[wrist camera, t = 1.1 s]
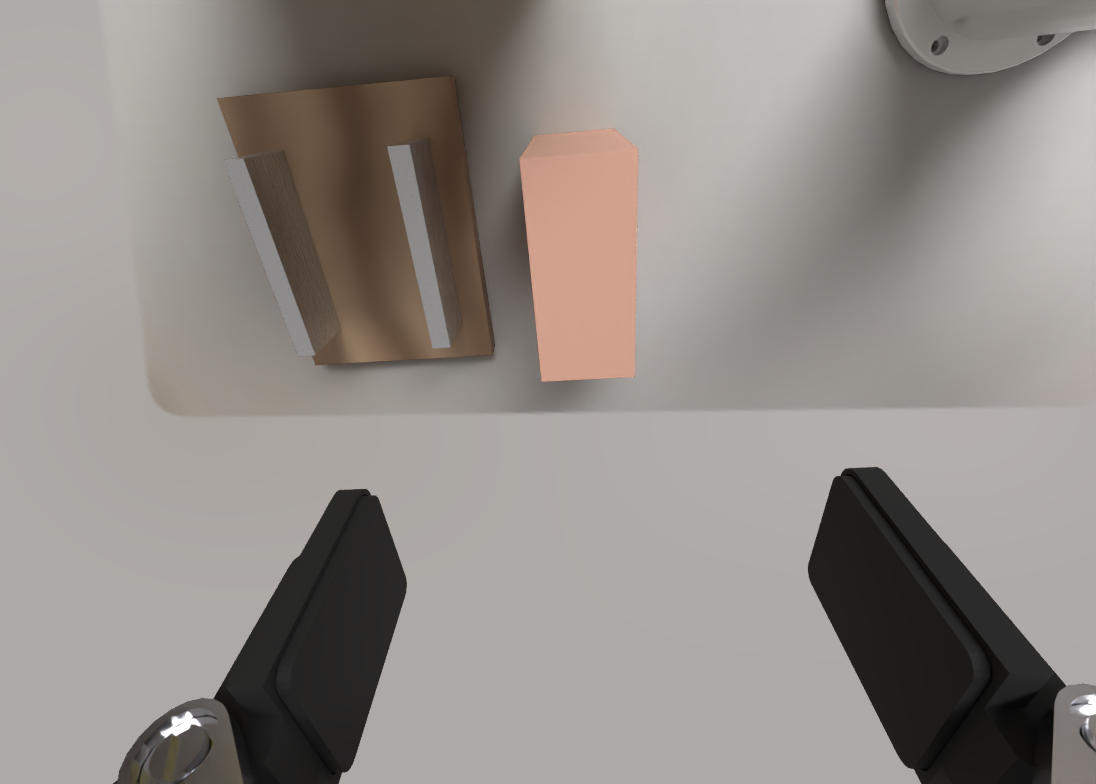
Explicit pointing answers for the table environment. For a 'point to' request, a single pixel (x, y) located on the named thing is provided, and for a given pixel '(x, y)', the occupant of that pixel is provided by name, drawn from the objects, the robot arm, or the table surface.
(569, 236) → the small book
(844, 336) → the table surface
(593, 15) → the table surface
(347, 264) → the shelf board
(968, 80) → the table surface
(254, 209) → the bookends
